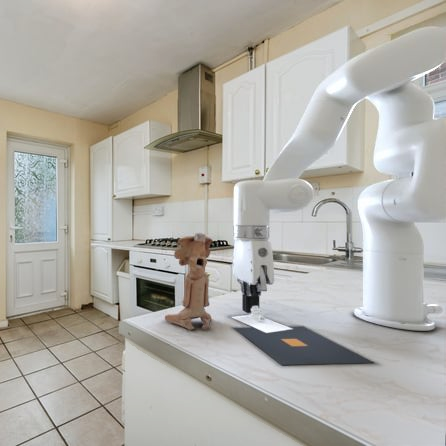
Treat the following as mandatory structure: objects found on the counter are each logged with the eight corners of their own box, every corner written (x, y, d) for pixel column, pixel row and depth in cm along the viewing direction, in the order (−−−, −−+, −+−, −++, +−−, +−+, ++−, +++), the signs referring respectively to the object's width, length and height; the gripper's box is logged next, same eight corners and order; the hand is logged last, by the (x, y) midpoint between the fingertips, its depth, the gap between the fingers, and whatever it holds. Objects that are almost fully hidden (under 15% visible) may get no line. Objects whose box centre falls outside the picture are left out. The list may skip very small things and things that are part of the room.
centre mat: (303, 326, 58) (303, 326, 58) (374, 363, 43) (374, 362, 43) (233, 328, 57) (233, 327, 57) (281, 365, 42) (281, 364, 42)
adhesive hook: (257, 318, 63) (257, 304, 63) (267, 322, 61) (266, 307, 61) (246, 319, 62) (246, 305, 62) (255, 323, 60) (255, 309, 60)
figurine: (210, 318, 63) (209, 231, 63) (220, 333, 55) (220, 233, 55) (163, 317, 64) (163, 231, 64) (167, 331, 56) (167, 233, 56)
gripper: (288, 235, 57) (288, 323, 57) (249, 232, 72) (249, 302, 72) (252, 235, 57) (252, 323, 57) (221, 232, 72) (221, 302, 72)
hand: (250, 311), depth 64 cm, fingers closed
